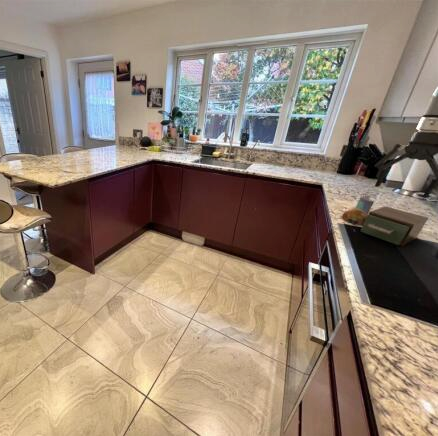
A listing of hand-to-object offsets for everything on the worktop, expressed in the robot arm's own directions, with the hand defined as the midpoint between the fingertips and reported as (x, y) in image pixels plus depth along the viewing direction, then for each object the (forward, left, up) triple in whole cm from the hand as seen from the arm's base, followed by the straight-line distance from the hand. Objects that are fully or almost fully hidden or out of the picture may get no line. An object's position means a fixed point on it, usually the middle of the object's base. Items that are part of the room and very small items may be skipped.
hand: (399, 191), depth 87 cm
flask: (+16, -28, -21) cm, 39 cm away
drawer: (-1, -6, -20) cm, 21 cm away
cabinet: (-1, -11, -21) cm, 24 cm away
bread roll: (+13, -14, -21) cm, 29 cm away
